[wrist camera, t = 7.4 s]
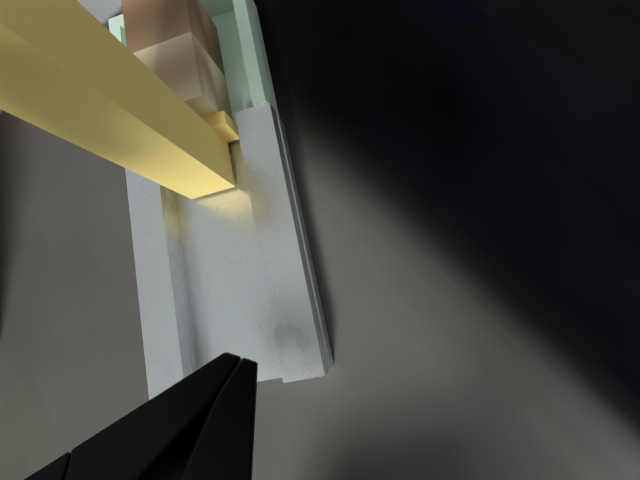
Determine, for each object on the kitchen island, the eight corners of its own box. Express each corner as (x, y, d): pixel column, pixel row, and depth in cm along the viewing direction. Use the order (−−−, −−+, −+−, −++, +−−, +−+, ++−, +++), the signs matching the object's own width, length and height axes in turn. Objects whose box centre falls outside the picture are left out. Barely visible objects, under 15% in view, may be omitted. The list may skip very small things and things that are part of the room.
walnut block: (225, 77, 22) (191, 31, 18) (172, 95, 22) (127, 54, 18) (216, 27, 22) (181, -28, 19) (165, 46, 23) (121, -3, 19)
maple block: (235, 131, 21) (201, 95, 17) (179, 148, 22) (134, 117, 18) (225, 77, 22) (191, 31, 18) (172, 95, 22) (127, 54, 18)
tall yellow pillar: (248, 182, 20) (13, -4, 7) (178, 202, 21) (-146, 65, 8) (238, 127, 21) (8, -131, 8) (171, 148, 21) (-137, -57, 9)
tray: (280, 125, 22) (264, 99, 19) (154, 164, 23) (121, 146, 20) (256, 7, 24) (238, -33, 21) (140, 51, 25) (108, 19, 22)
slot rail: (334, 363, 19) (325, 375, 16) (179, 392, 20) (149, 407, 18) (283, 124, 22) (270, 101, 19) (152, 164, 23) (122, 149, 21)
